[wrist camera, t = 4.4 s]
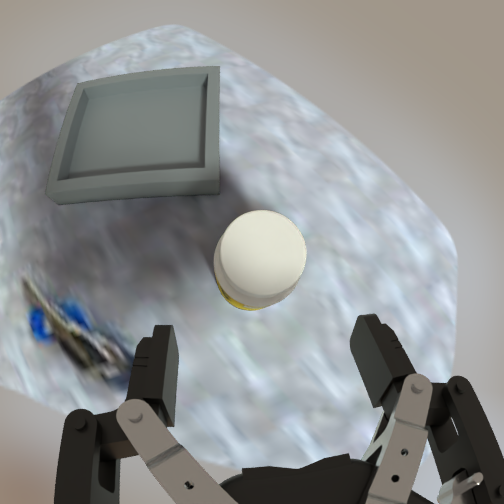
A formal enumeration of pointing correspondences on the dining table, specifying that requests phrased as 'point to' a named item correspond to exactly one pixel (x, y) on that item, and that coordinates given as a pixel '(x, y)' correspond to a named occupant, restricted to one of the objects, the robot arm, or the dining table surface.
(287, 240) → the supplement bottle
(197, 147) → the tray
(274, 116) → the dining table surface
